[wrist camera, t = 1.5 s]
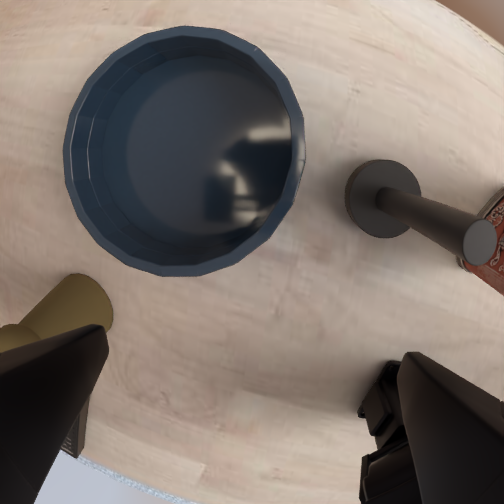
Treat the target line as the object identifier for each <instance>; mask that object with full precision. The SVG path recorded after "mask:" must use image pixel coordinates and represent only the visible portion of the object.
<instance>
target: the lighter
mask: <svg viewBox="0 0 504 504" xmlns="http://www.w3.org/2000/svg"><path fill="white" fill-rule="evenodd" d="M477 216H479V217H481V218H484V219H486V220H488V221H490V222H491V223H492V224H493V226H494V227H495V230H496V233H497V244H496V248H495V251H494V253H493V255H492V257H491V258H490V259H489V260H488V261H487V262H486V263H485V264H483V265H480V266H473V265H470V264H469V263H467V262H466V261H464V260H462V259H461V258H459V257H458V256H456V259H457V262H458V264H459V266H460V267H461V268H462V269H464V270H465V271H467V272H469V273H473V274H475V275H476V276H478V277H479V278H480V279H482V280H483V281H485V282H486V283H487V284H489V285H490V286H491V287H493V288H494V289H495V290H497V291H498V292H499V293H501V294H502V295H503V296H504V188H502V189H501V190H500V191H499V192H498V193H497V194H496V195H495V196H494V197H493V198H492V199H491V200H490V201H489V202H488V203H487V204H486V206H485V207H484V208H483V209H482V210H481V211H480V213H479V214H478V215H477Z"/></svg>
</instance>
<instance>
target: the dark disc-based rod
mask: <svg viewBox="0 0 504 504" xmlns="http://www.w3.org/2000/svg"><path fill="white" fill-rule="evenodd" d="M345 204H346V208H347V211H348V213H349V215H350V217H351V218H352V220H353V221H354V222H355V223H356V224H357V225H358V226H359V227H360V228H361V229H362V230H363V231H365V232H366V233H368V234H369V235H371V236H374V237H378V238H393V237H396V236H399V235H401V234H402V233H404V232H406V231H407V230H408V229H409V228H410V227H411V228H412V229H414V230H416V231H417V232H419V233H421V234H423V235H424V236H426V237H427V238H429V239H431V240H432V241H434V242H436V243H437V244H439V245H441V246H442V247H444V248H445V249H447V250H448V251H450V252H452V253H453V254H455V255H456V256H458V257H459V258H461V259H462V260H464V261H466V262H467V263H469V264H470V265H473V266H480V265H483V264H485V263H486V262H487V261H488V260H489V259H490V258H491V257H492V255H493V253H494V251H495V248H496V244H497V233H496V230H495V227H494V226H493V224H492V223H491V222H490V221H488V220H486V219H484V218H481V217H479V216H476V215H473V214H470V213H468V212H465V211H462V210H459V209H456V208H453V207H451V206H448V205H445V204H442V203H439V202H436V201H433V200H430V199H426V198H423V197H421V191H420V187H419V184H418V181H417V179H416V178H415V176H414V175H413V173H412V172H411V171H410V170H409V169H408V168H407V167H405V166H404V165H402V164H400V163H398V162H396V161H392V160H372V161H368V162H366V163H364V164H362V165H361V166H359V167H358V168H357V169H356V170H355V171H354V172H353V173H352V175H351V176H350V178H349V180H348V183H347V185H346V190H345Z"/></svg>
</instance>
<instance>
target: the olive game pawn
mask: <svg viewBox="0 0 504 504" xmlns="http://www.w3.org/2000/svg"><path fill="white" fill-rule="evenodd" d="M112 322H113V309H112V306H111V303H110V300H109V298H108V296H107V295H106V293H105V291H104V290H103V289H102V288H101V286H100V285H99V284H98V283H97V282H96V281H94V280H93V279H91V278H90V277H88V276H85V275H82V274H70V275H69V276H67V277H66V278H64V279H63V280H62V281H61V282H60V283H59V284H58V285H57V286H56V287H55V288H54V289H53V290H51V291H50V292H49V293H48V294H47V295H46V296H45V297H44V298H43V299H42V300H41V301H40V302H39V303H38V304H37V305H36V306H35V307H34V308H33V309H32V310H31V311H30V312H29V313H28V314H27V315H26V316H25V317H24V318H23V319H22V321H21V322H20V323H19V324H8V325H5V326H3V327H1V328H0V352H1V353H2V352H4V351H7V350H10V349H13V348H17V347H20V346H23V345H26V344H29V343H33V342H36V341H39V340H42V339H45V338H48V337H52V336H55V335H58V334H61V333H64V332H67V331H70V330H73V329H77V328H80V327H83V326H86V325H89V324H97V325H102V326H103V327H104V328H105V330H106V332H107V331H108V330H109V329H110V328H111V325H112Z"/></svg>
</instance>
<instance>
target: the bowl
mask: <svg viewBox="0 0 504 504" xmlns="http://www.w3.org/2000/svg"><path fill="white" fill-rule="evenodd" d="M305 160H306V150H305V131H304V117H303V114H302V111H301V109H300V107H299V104H298V102H297V99H296V97H295V95H294V92H293V90H292V88H291V85H290V83H289V81H288V78H286V76H285V75H284V74H283V72H282V71H281V70H280V69H279V68H278V67H277V66H276V65H275V64H274V63H273V62H272V61H271V60H270V59H269V58H268V57H267V56H266V55H265V53H264V52H263V51H262V50H261V49H260V48H258V47H257V46H255V45H253V44H251V43H249V42H247V41H245V40H243V39H241V38H239V37H237V36H235V35H233V34H231V33H228V32H226V31H224V30H221V29H213V28H204V27H194V26H178V27H174V28H169V29H164V30H160V31H156V32H151V33H147V34H144V35H142V36H140V37H139V38H137V39H135V40H133V41H132V42H130V43H128V44H126V45H125V46H123V47H121V48H120V49H118V50H116V51H115V52H113V53H112V54H111V55H110V56H109V57H108V58H107V59H106V60H105V61H104V62H103V63H102V64H101V65H100V66H99V67H98V68H97V69H96V70H95V72H94V73H93V74H92V75H91V76H90V77H89V78H88V79H87V81H86V83H85V85H84V86H83V88H82V90H81V92H80V94H79V96H78V98H77V100H76V102H75V104H74V106H73V108H72V110H71V112H70V115H69V119H68V124H67V129H66V134H65V139H64V144H63V163H64V175H65V184H66V188H67V190H68V193H69V196H70V199H71V201H72V204H73V207H74V209H75V212H76V214H77V217H78V219H79V220H80V221H81V223H82V224H83V225H84V227H85V228H86V229H87V231H88V232H89V233H90V235H91V236H92V237H93V239H94V240H95V241H96V243H97V244H98V245H99V246H101V247H102V248H103V249H105V250H106V251H107V252H109V253H110V254H112V255H113V256H114V257H116V258H117V259H118V260H120V261H121V262H123V263H124V264H125V265H128V266H130V267H133V268H136V269H139V270H142V271H145V272H148V273H151V274H155V275H158V276H162V277H197V276H202V275H205V274H208V273H211V272H214V271H217V270H220V269H223V268H226V267H229V266H232V265H235V264H236V263H238V262H239V261H241V260H242V259H243V258H245V257H246V256H247V255H248V254H250V253H251V252H252V251H254V250H255V249H256V248H258V247H259V246H260V245H262V244H263V243H264V242H266V241H267V240H268V239H269V238H270V237H271V235H272V234H273V233H274V231H275V230H276V228H277V227H278V225H279V224H280V222H281V221H282V220H283V218H284V217H285V215H286V214H287V212H288V211H289V209H290V208H291V206H292V205H293V202H294V200H295V197H296V193H297V190H298V187H299V183H300V180H301V176H302V173H303V169H304V166H305Z"/></svg>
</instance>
